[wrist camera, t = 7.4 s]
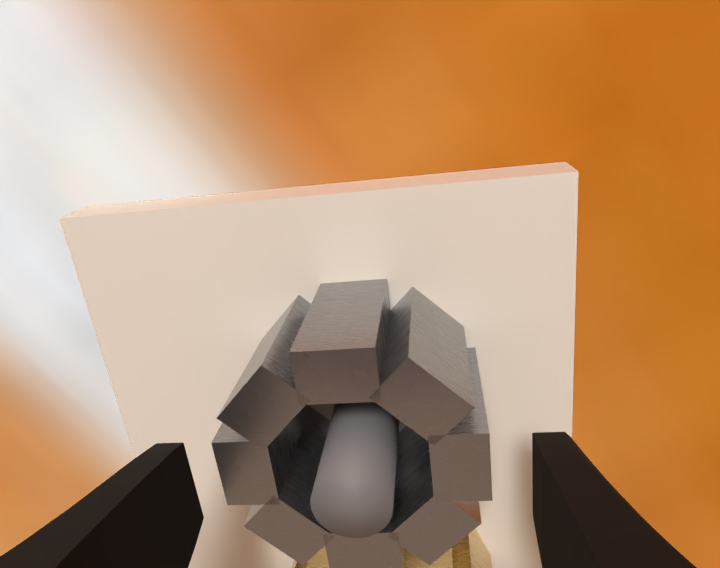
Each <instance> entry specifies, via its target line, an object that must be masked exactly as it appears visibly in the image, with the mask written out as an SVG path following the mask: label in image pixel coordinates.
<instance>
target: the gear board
mask: <svg viewBox="0 0 720 568" xmlns="http://www.w3.org/2000/svg"><path fill="white" fill-rule="evenodd" d="M577 207H578V171H577V170H576V169H574V168H573V167H572V166H571V165H569V164H568V163H567V162H557V163H546V164H535V165H524V166H514V167H503V168H492V169H481V170H471V171H460V172H449V173H439V174H428V175H417V176H406V177H396V178H385V179H374V180H363V181H353V182H342V183H331V184H321V185H310V186H299V187H288V188H278V189H267V190H256V191H245V192H235V193H224V194H213V195H203V196H192V197H181V198H170V199H160V200H149V201H138V202H127V203H117V204H106V205H95V206H86V207H84V208H82V209H80V210H78V211H75V212H73V213H71V214H69V215H66V216H64V217H62V218H60V222H61V225H62V228H63V231H64V234H65V237H66V241H67V244H68V247H69V250H70V253H71V256H72V260H73V263H74V266H75V269H76V272H77V275H78V279H79V282H80V285H81V288H82V291H83V295H84V298H85V301H86V304H87V307H88V310H89V314H90V317H91V320H92V323H93V326H94V329H95V333H96V336H97V339H98V342H99V345H100V348H101V352H102V355H103V358H104V361H105V364H106V368H107V371H108V374H109V377H110V380H111V383H112V387H113V390H114V393H115V396H116V399H117V402H118V406H119V409H120V412H121V415H122V418H123V422H124V425H125V428H126V431H127V434H128V437H129V441H130V444H131V447H132V450H133V453H134V456H135V458H136V457H138V456H139V455H140V454H142V453H143V452H145V451H146V450H147V449H149V448H150V447H152V446H153V445H155V444H156V443H184V447H185V450H186V454H187V457H188V461H189V465H190V468H191V472H192V476H193V479H194V483H195V487H196V490H197V494H198V498H199V501H200V505H201V509H202V512H203V516H204V519H203V523H202V526H201V529H200V533H199V536H198V539H197V543H196V546H195V549H194V552H193V555H192V558H191V561H190V564H189V566H188V568H292V565H293V561H294V559H292V558H291V557H289V556H288V555H286V554H285V553H283V552H282V551H280V550H279V549H277V548H276V547H274V546H273V545H271V544H270V543H268V542H267V541H265V540H264V539H262V538H261V537H259V536H258V535H256V534H255V533H253V532H252V531H250V530H248V529H247V528H245V527H244V524H245V521H246V518H247V516H248V513H249V511H250V508H251V506H252V505H227V502H226V498H225V494H224V490H223V487H222V483H221V479H220V475H219V471H218V467H217V463H216V460H215V456H214V452H213V448H212V444H211V442H212V440H213V439H214V437H215V435H216V433H217V431H218V430H219V428H220V426H221V424H222V422H221V421H220V420H218V419H217V416H218V415H219V413H220V411H221V409H222V408H223V406H224V404H225V402H226V401H227V399H228V397H229V396H230V394H231V392H232V390H233V389H234V387H235V385H236V383H237V382H238V380H239V378H240V376H241V375H242V373H243V371H244V370H245V368H246V366H247V364H248V363H249V361H250V359H251V357H252V356H253V354H254V352H255V350H256V349H257V347H258V345H259V343H260V342H261V340H262V338H263V337H264V336H265V335H266V334H267V332H268V331H269V330H270V329H271V327H272V326H273V325H274V324H275V323H276V321H277V320H278V319H279V318H280V317H281V315H282V314H283V313H284V312H285V310H286V309H287V308H288V307H289V306H290V304H291V303H292V302H293V301H294V300H295V298H296V297H297V296H298V295H300V296H301V297H303V298H304V299H305V300H307V301H308V302H309V303H312V301H313V299H314V297H315V295H316V292H317V290H318V288H319V286H320V284H321V283H335V282H348V281H362V280H376V279H387V283H388V292H389V301H390V310H391V309H392V308H393V307H394V306H395V305H396V304H397V303H398V302H399V301H400V299H401V298H402V297H403V296H404V295H405V294H406V293H407V292H408V291H409V290H410V289H411V287H412V286H413V287H414V288H415V289H417V290H418V291H419V292H420V293H422V294H423V295H424V296H426V297H427V298H428V299H429V300H431V301H432V302H433V303H434V304H436V305H437V306H438V307H440V308H441V309H442V310H443V311H445V312H446V313H447V314H448V315H450V316H451V317H452V318H454V319H455V320H456V321H457V322H459V323H460V324H461V325H463V326H464V331H465V338H466V346H467V348H473V347H475V349H476V355H477V361H478V367H479V373H480V379H481V385H482V392H483V398H484V404H485V410H486V416H487V422H488V428H489V434H490V456H491V478H492V499H493V501H479V507H480V515H481V524H480V525H479V526H478V527H477V528H475V529H476V531H477V532H478V534H479V536H480V537H481V539H482V541H483V542H484V544H485V546H486V548H487V549H488V551H489V553H490V555H491V563H492V568H542V564H541V558H540V553H539V548H538V542H537V537H536V531H535V525H534V520H533V484H532V433H537V432H566V433H567V434H568V435H569V436H570V437H571V438H572V412H573V371H574V330H575V289H576V248H577ZM310 406H311V407H312V408H313V409H315V410H316V411H318V412H319V413H320V414H322V415H323V416H324V417H326V418H327V419H329V420H330V425H329V429H328V433H327V437H326V440H325V444H324V448H323V452H322V456H321V459H320V463H319V467H318V471H317V475H316V479H315V482H314V486H313V490H312V494H311V498H310V505H311V510H312V513H313V515H314V517H315V518H316V520H317V521H318V522H319V523H320V524H321V525H322V526H323V527H324V528H326V529H327V530H329V531H330V532H332V533H334V534H337V535H340V536H343V537H348V538H364V537H368V536H372V535H374V534H376V533H378V532H380V531H381V530H383V529H384V528H385V527H386V526H387V525H388V523H389V522H390V520H391V517H392V514H393V504H394V490H395V476H396V463H397V449H398V436H399V432H400V431H401V430H402V429H403V428H404V427H405V426H406V425H405V424H404V423H402V422H401V421H400V420H398V419H397V418H396V417H394V416H393V415H392V414H390V413H389V412H387V411H386V410H385V409H383V408H382V407H381V406H379V405H378V404H377V403H375V402H362V403H339V404H315V405H310Z"/></svg>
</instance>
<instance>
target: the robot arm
mask: <svg viewBox="0 0 720 568" xmlns="http://www.w3.org/2000/svg"><path fill="white" fill-rule="evenodd" d="M532 484H533V520H534V525H535V531H536V537H537V542H538V548H539V553H540V558H541V564H542V568H696V567H695V566H694V565H693V564H692V563H690V562H689V561H688V560H687V559H686V558H685V557H684V556H683V555H681V554H680V553H679V552H678V551H677V550H676V549H675V548H674V547H673V546H672V545H671V544H669V543H668V542H667V541H666V540H665V539H664V538H663V537H662V536H661V535H660V534H659V533H658V532H657V531H656V530H655V529H654V528H653V527H652V526H650V525H649V524H648V523H647V522H646V521H645V520H644V519H643V518H642V517H641V516H640V515H639V514H638V513H637V512H636V510H635V509H634V508H633V507H632V506H631V505H630V504H629V503H628V502H627V501H626V500H625V499H624V498H623V497H622V496H621V495H620V494H619V493H618V492H617V491H616V490H615V488H614V487H613V486H612V485H611V484H610V483H609V482H608V481H607V480H606V479H605V477H604V476H603V475H602V474H601V473H600V472H599V471H598V469H597V468H596V467H595V466H594V465H593V464H592V462H591V461H590V460H589V459H588V458H587V457H586V455H585V454H584V453H583V452H582V450H581V449H580V448H579V447H578V446H577V444H576V443H575V442H574V441H573V439H572V438H571V437H570V436H569V435H568V434H567V433H566V432H537V433H532ZM203 519H204V516H203V512H202V509H201V505H200V501H199V498H198V494H197V490H196V487H195V483H194V479H193V476H192V472H191V468H190V465H189V461H188V457H187V454H186V450H185V447H184V443H156V444H155V445H153V446H152V447H150V448H149V449H147V450H146V451H145V452H143V453H142V454H140V455H139V456H138V457H136V458H135V459H134V460H132V461H131V462H130V463H128V464H127V465H126V466H124V467H123V468H122V469H120V470H119V471H118V472H117V473H115V474H114V475H113V476H111V477H110V478H109V479H107V480H106V481H105V482H104V483H102V484H101V485H100V486H98V487H97V488H96V489H94V490H93V491H92V492H90V493H89V494H88V495H86V496H85V497H84V498H83V499H81V500H80V501H79V502H77V503H76V504H75V505H73V506H72V507H71V508H69V509H68V510H67V511H65V512H64V513H62V514H61V515H60V516H58V517H57V518H55V519H54V520H53V521H51V522H50V523H48V524H47V525H46V526H44V527H43V528H41V529H40V530H38V531H37V532H36V533H34V534H33V535H31V536H30V537H29V538H27V539H26V540H24V541H23V542H22V543H20V544H19V545H17V546H16V547H14V548H13V549H11V550H10V551H8V552H7V553H5V554H4V555H2V556H0V568H188V566H189V564H190V561H191V558H192V555H193V552H194V549H195V546H196V543H197V539H198V536H199V533H200V529H201V526H202V523H203Z"/></svg>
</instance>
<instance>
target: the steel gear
mask: <svg viewBox="0 0 720 568" xmlns="http://www.w3.org/2000/svg"><path fill="white" fill-rule="evenodd" d="M362 402H375V403H377V404H378V405H379V406H381V407H382V408H383V409H385V410H386V411H387V412H389V413H390V414H392V415H393V416H394V417H396V418H397V419H398V420H400V421H401V422H402V423H404V424H405V425H406V426H405V427H404V428H403V429H402V430H401V431H400V432H399V436H398V449H397V463H396V476H395V490H394V504H393V514H392V517H391V520H390V522H389V523H388V525H387V526H386V527H385V528H384V529H383V530H381V531H380V532H378V533H376V534H374V535H372V536H368V537H364V538H348V537H343V536H340V535H337V534H334V533H332V532H330V531H329V530H327V529H326V528H324V527H323V526H322V525H321V524H320V523H319V522H318V521H317V520H316V518H315V517H314V515H313V513H312V510H311V505H310V498H311V494H312V490H313V486H314V482H315V479H316V475H317V471H318V467H319V463H320V459H321V456H322V452H323V448H324V444H325V440H326V437H327V433H328V429H329V425H330V420H329V419H327V418H326V417H324V416H323V415H322V414H320V413H319V412H318V411H316V410H315V409H313V408H312V407H311V406H310V405H315V404H339V403H362ZM217 419H218V420H220V421H221V422H222V424H221V426H220V428H219V430H218V431H217V433H216V435H215V437H214V439H213V440H212V442H211V444H212V448H213V452H214V456H215V460H216V463H217V467H218V471H219V475H220V479H221V483H222V487H223V490H224V494H225V498H226V502H227V505H252V506H251V508H250V511H249V513H248V516H247V518H246V521H245V524H244V527H245V528H247V529H248V530H250V531H252V532H253V533H255V534H256V535H258V536H259V537H261V538H262V539H264V540H265V541H267V542H268V543H270V544H271V545H273V546H274V547H276V548H277V549H279V550H280V551H282V552H283V553H285V554H286V555H288V556H289V557H291V558H292V559H294V560H295V561H297V562H298V563H300V564H301V565H304V564H305V563H306V562H307V561H308V560H310V559H311V558H312V557H313V556H314V555H315V554H316V553H317V552H318V551H319V550H320V549H322V548H323V547H324V546H325V548H326V553H327V558H328V564H329V568H404V548H405V549H406V550H408V551H409V552H411V553H412V554H414V555H415V556H417V557H418V558H419V559H421V560H422V561H424V562H425V563H427V564H428V565H431V564H432V563H433V562H434V561H436V560H437V559H438V558H439V557H441V556H442V555H443V554H444V553H446V552H447V551H448V550H449V549H451V548H452V547H453V546H454V545H456V544H457V543H458V542H459V541H460V540H462V539H463V538H464V537H465V536H467V535H468V534H469V533H470V532H472V531H473V530H474V529H475V528H477V527H478V526H479V525H480V524H481V515H480V507H479V501H493V499H492V478H491V456H490V434H489V428H488V422H487V416H486V410H485V404H484V398H483V392H482V385H481V379H480V373H479V367H478V361H477V355H476V349H475V347H473V348H467V346H466V338H465V331H464V326H463V325H461V324H460V323H459V322H457V321H456V320H455V319H454V318H452V317H451V316H450V315H448V314H447V313H446V312H445V311H443V310H442V309H441V308H440V307H438V306H437V305H436V304H434V303H433V302H432V301H431V300H429V299H428V298H427V297H426V296H424V295H423V294H422V293H420V292H419V291H418V290H417V289H415V288H414V287H413V286H412V287H411V289H410V290H409V291H408V292H407V293H406V294H405V295H404V296H403V297H402V298H401V299H400V301H399V302H398V303H397V304H396V305H395V306H394V307H393V308H392V309H391V310H390V301H389V292H388V283H387V279H376V280H362V281H348V282H335V283H321V284H320V286H319V288H318V290H317V292H316V295H315V297H314V299H313V301H312V303H309V302H308V301H307V300H305V299H304V298H303V297H301V296H300V295H298V296H297V297H296V298H295V300H294V301H293V302H292V303H291V304H290V306H289V307H288V308H287V309H286V310H285V312H284V313H283V314H282V315H281V317H280V318H279V319H278V320H277V321H276V323H275V324H274V325H273V326H272V327H271V329H270V330H269V331H268V332H267V334H266V335H265V336H264V337H263V338H262V340H261V342H260V343H259V345H258V347H257V349H256V350H255V352H254V354H253V356H252V357H251V359H250V361H249V363H248V364H247V366H246V368H245V370H244V371H243V373H242V375H241V376H240V378H239V380H238V382H237V383H236V385H235V387H234V389H233V390H232V392H231V394H230V396H229V397H228V399H227V401H226V402H225V404H224V406H223V408H222V409H221V411H220V413H219V415H218V416H217Z"/></svg>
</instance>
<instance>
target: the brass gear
mask: <svg viewBox="0 0 720 568" xmlns="http://www.w3.org/2000/svg"><path fill="white" fill-rule="evenodd" d="M292 568H329V564H328V558H327V553H326V548H325V546H324V547H323V548H322V549H320V550H319V551H318V552H317V553H316V554H315V555H314V556H313V557H312V558H311V559H310V560H308V561H307V562H306V563H305V564H304V565H301V564H300V563H298V562H297V561H295V560H294V561H293V565H292ZM404 568H492V563H491V555H490V553H489V551H488V549H487V548H486V546H485V544H484V542H483V541H482V539H481V537H480V536H479V534H478V532H477V531H476V529H474V530H473V531H472V532H470V533H469V534H468V535H467V536H465V537H464V538H463V539H462V540H460V541H459V542H458V543H457V544H456V545H454V546H453V547H452V548H451V549H449V550H448V551H447V552H446V553H444V554H443V555H442V556H441V557H439V558H438V559H437V560H436V561H434V562H433V563H432V564H431V565H428V564H427V563H425V562H424V561H422V560H421V559H419V558H418V557H417V556H415V555H414V554H412V553H411V552H409V551H408V550H406V549H405V548H404Z"/></svg>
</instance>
